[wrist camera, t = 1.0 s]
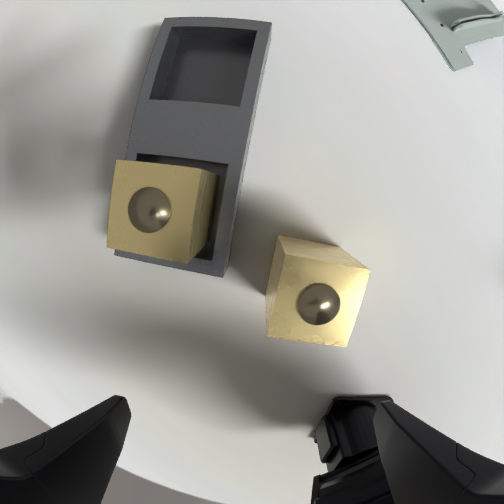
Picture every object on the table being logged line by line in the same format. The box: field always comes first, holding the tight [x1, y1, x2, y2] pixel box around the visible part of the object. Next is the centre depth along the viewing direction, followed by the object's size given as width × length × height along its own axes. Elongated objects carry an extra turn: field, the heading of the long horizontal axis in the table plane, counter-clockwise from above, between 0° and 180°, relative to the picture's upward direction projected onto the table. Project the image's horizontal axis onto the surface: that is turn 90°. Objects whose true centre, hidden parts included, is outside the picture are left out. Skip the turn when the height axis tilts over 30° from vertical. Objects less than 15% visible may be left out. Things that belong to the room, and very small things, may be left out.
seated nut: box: [107, 160, 220, 264], centre depth 16 cm, size 4×4×6 cm
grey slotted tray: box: [114, 17, 272, 278], centre depth 17 cm, size 8×17×2 cm, turn 170°
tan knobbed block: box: [265, 235, 370, 347], centre depth 17 cm, size 4×4×6 cm
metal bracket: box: [402, 0, 504, 71], centre depth 13 cm, size 14×6×15 cm
